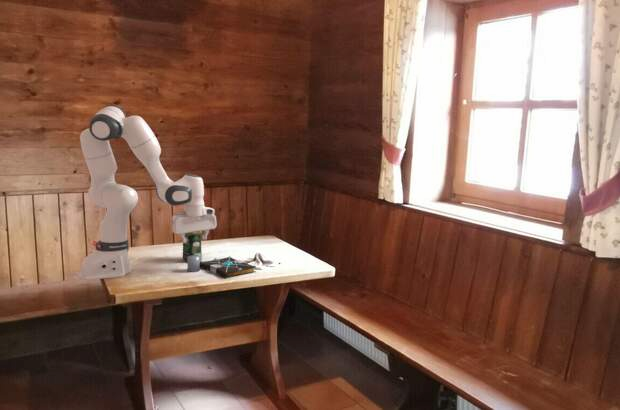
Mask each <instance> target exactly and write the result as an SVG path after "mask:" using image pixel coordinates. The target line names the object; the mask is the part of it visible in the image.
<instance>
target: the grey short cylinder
mask: <svg viewBox="0 0 620 410" xmlns="http://www.w3.org/2000/svg"><path fill="white" fill-rule="evenodd" d="M200 270H201V268H200V256H198V255H190V256H188V262H187V272H188V273H197V272H200Z"/></svg>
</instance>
